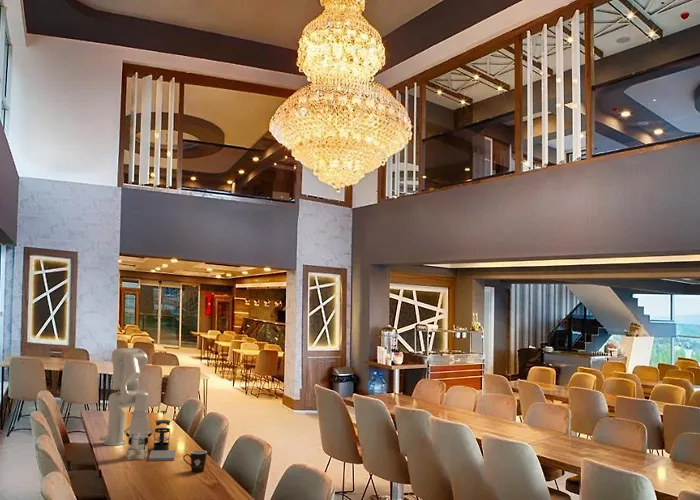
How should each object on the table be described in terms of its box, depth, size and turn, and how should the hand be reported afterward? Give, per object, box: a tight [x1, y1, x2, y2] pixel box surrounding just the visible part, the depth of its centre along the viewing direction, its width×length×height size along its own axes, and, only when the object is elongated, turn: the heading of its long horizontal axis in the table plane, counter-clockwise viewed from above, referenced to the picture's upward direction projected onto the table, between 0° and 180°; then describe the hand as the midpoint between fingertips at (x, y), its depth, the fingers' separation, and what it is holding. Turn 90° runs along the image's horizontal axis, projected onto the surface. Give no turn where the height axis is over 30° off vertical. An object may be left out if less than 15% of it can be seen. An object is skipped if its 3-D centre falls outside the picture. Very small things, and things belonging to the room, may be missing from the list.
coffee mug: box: [183, 449, 208, 474], centre depth 314 cm, size 12×9×10 cm
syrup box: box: [130, 433, 146, 450], centre depth 336 cm, size 6×6×14 cm
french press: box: [152, 410, 171, 451], centre depth 358 cm, size 12×9×23 cm
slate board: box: [148, 449, 176, 462], centre depth 339 cm, size 14×18×2 cm
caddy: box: [126, 445, 149, 461], centre depth 336 cm, size 10×10×5 cm
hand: (138, 444), depth 336 cm, fingers closed on syrup box, 8 cm apart
